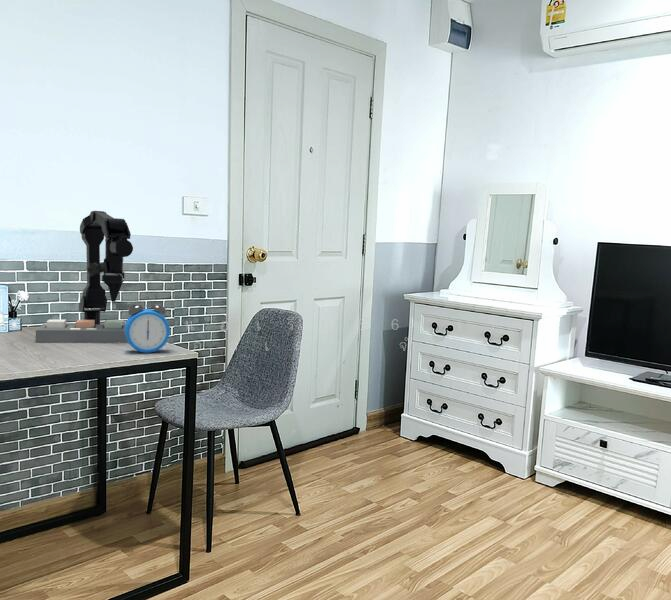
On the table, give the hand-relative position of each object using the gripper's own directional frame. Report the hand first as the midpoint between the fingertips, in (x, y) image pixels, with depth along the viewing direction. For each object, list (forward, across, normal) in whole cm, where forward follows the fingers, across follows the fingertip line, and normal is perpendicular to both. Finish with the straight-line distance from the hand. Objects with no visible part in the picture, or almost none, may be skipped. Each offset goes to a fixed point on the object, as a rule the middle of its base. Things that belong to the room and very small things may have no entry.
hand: (113, 300), depth 212 cm
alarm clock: (+13, +24, +12) cm, 30 cm away
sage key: (+10, 0, 0) cm, 10 cm away
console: (+13, +2, -9) cm, 16 cm away
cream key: (+10, 0, -18) cm, 21 cm away
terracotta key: (+10, 0, -9) cm, 14 cm away
